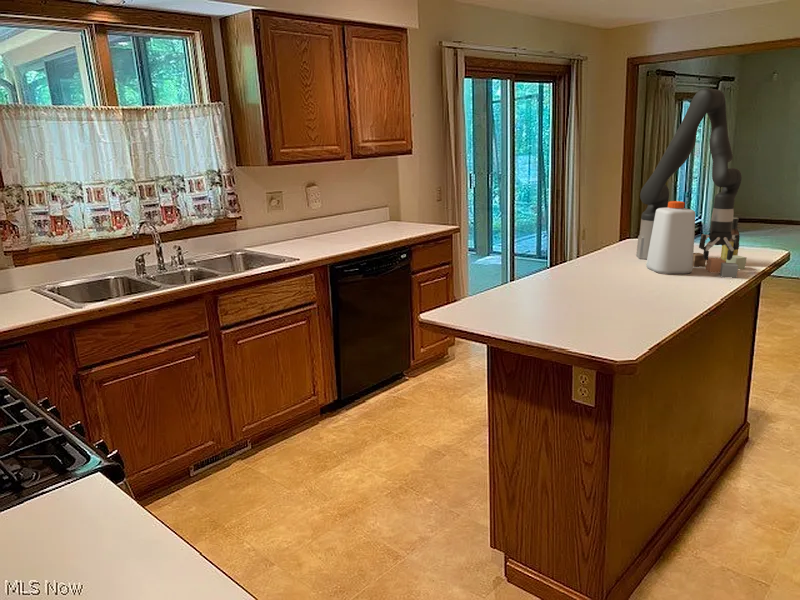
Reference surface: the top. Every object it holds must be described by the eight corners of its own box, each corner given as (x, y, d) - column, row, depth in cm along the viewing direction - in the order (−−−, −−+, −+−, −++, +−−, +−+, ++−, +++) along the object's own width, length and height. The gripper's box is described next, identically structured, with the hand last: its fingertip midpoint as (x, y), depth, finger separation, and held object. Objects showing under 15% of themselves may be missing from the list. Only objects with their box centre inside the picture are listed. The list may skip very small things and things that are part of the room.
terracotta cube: (709, 272, 238) (711, 260, 237) (705, 269, 243) (707, 257, 242) (723, 272, 237) (724, 260, 236) (718, 269, 242) (720, 258, 241)
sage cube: (734, 270, 241) (736, 258, 240) (725, 267, 246) (726, 255, 245) (744, 269, 243) (746, 257, 241) (734, 266, 247) (736, 255, 246)
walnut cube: (693, 267, 248) (695, 255, 246) (687, 264, 252) (688, 253, 251) (705, 266, 248) (706, 255, 247) (698, 264, 253) (699, 252, 251)
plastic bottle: (696, 274, 235) (705, 203, 227) (659, 275, 234) (667, 204, 226) (676, 265, 250) (684, 199, 242) (642, 266, 249) (649, 200, 241)
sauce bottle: (732, 262, 255) (739, 216, 249) (739, 265, 249) (746, 218, 243) (716, 262, 255) (723, 216, 250) (722, 265, 249) (729, 218, 244)
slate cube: (721, 277, 230) (723, 264, 228) (719, 274, 234) (721, 262, 233) (736, 278, 228) (738, 265, 227) (733, 275, 233) (735, 263, 231)
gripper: (737, 218, 237) (732, 258, 241) (699, 218, 239) (695, 257, 243) (745, 221, 230) (739, 261, 234) (706, 221, 232) (701, 261, 236)
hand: (717, 259), depth 239 cm, fingers open, 8 cm apart
